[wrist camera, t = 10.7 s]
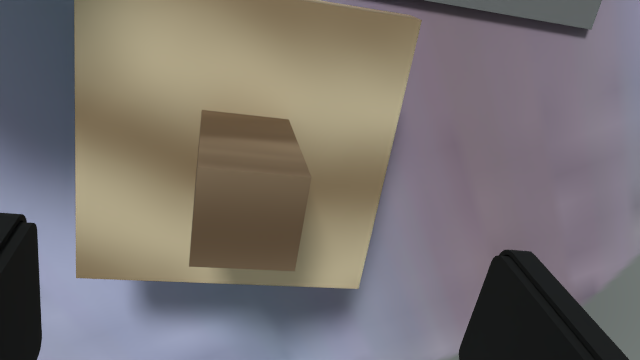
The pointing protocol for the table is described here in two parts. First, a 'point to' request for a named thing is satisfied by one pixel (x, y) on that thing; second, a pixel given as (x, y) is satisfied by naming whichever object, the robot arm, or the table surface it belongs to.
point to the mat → (538, 9)
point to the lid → (233, 138)
